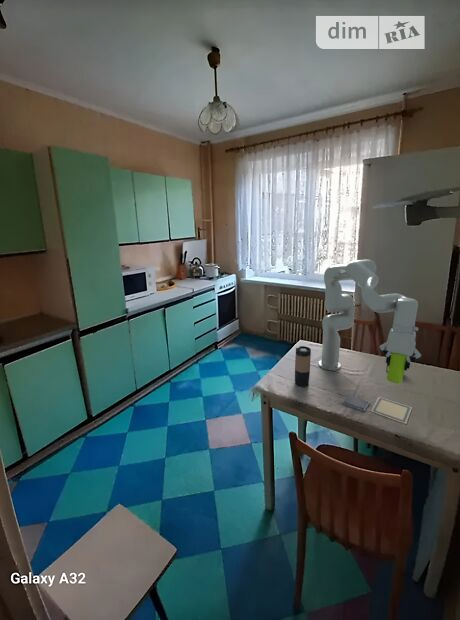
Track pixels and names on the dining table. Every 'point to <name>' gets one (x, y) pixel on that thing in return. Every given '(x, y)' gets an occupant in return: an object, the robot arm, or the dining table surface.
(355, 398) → the ink pad
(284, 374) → the dining table surface
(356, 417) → the dining table surface
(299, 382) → the travel mug
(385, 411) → the card sheet
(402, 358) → the soap dispenser
